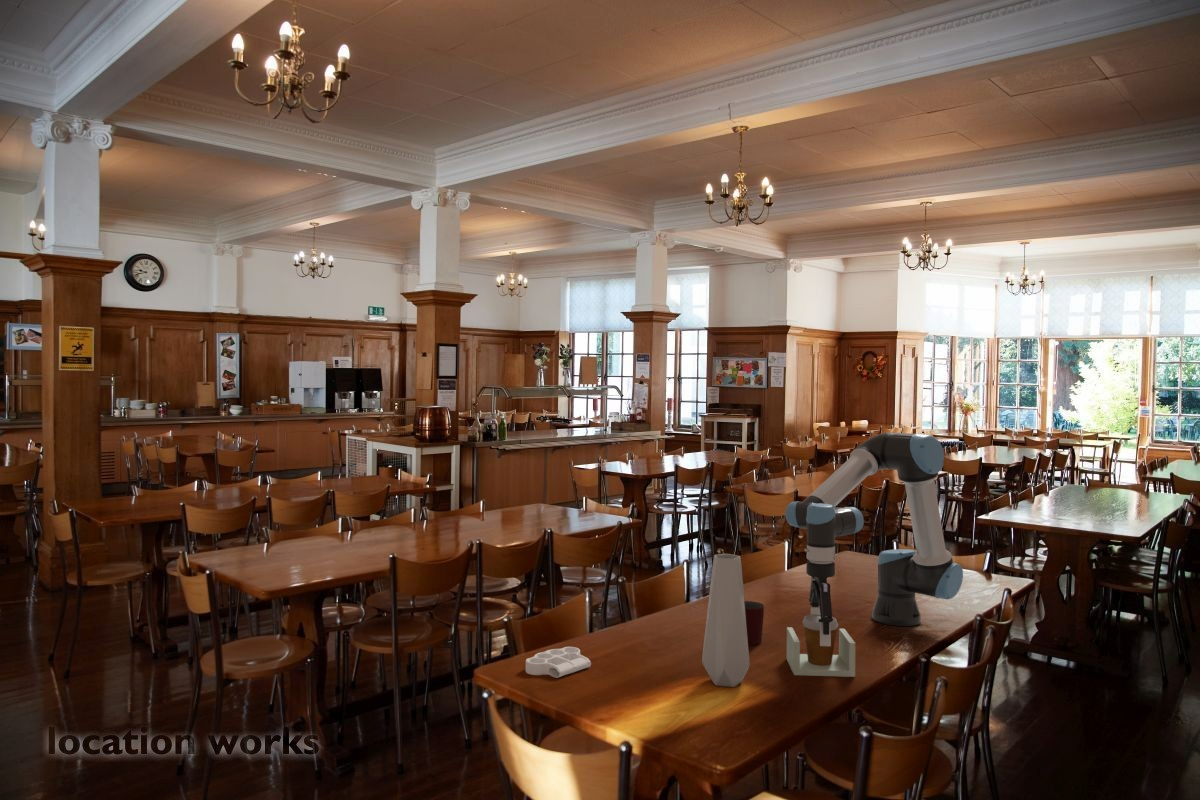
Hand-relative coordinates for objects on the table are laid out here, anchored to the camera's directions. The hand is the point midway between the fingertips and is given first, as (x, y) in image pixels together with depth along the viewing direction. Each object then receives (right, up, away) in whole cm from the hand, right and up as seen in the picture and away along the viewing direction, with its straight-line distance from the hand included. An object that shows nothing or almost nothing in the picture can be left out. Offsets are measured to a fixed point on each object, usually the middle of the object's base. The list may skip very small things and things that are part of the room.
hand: (820, 637), depth 224 cm
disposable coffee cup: (0, -7, 0) cm, 7 cm away
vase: (-27, -9, -11) cm, 31 cm away
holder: (0, -8, 0) cm, 8 cm away
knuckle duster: (-72, -9, 0) cm, 73 cm away
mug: (-17, -8, +22) cm, 29 cm away
